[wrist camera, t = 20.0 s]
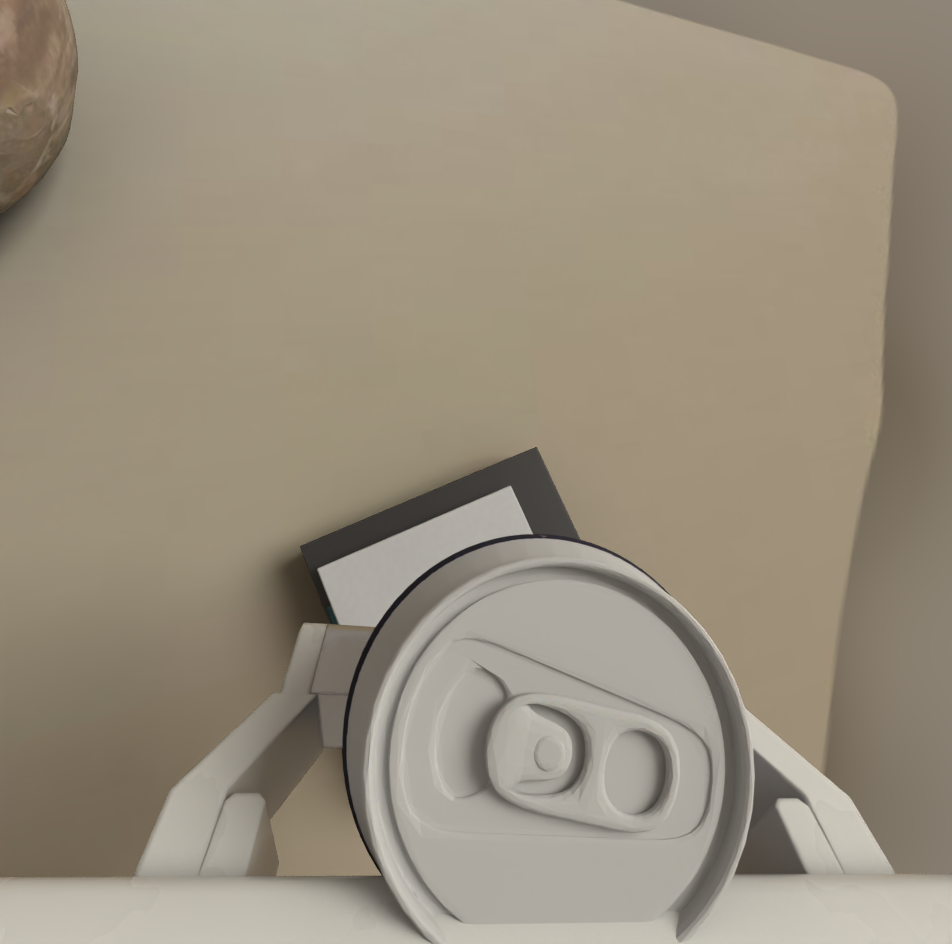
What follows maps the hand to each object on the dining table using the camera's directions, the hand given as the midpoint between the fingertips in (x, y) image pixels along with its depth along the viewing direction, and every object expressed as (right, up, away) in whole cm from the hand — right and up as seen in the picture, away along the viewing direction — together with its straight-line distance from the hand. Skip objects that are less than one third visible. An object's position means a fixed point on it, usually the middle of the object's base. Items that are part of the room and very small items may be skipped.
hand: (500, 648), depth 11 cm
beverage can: (-1, -2, +7) cm, 7 cm away
